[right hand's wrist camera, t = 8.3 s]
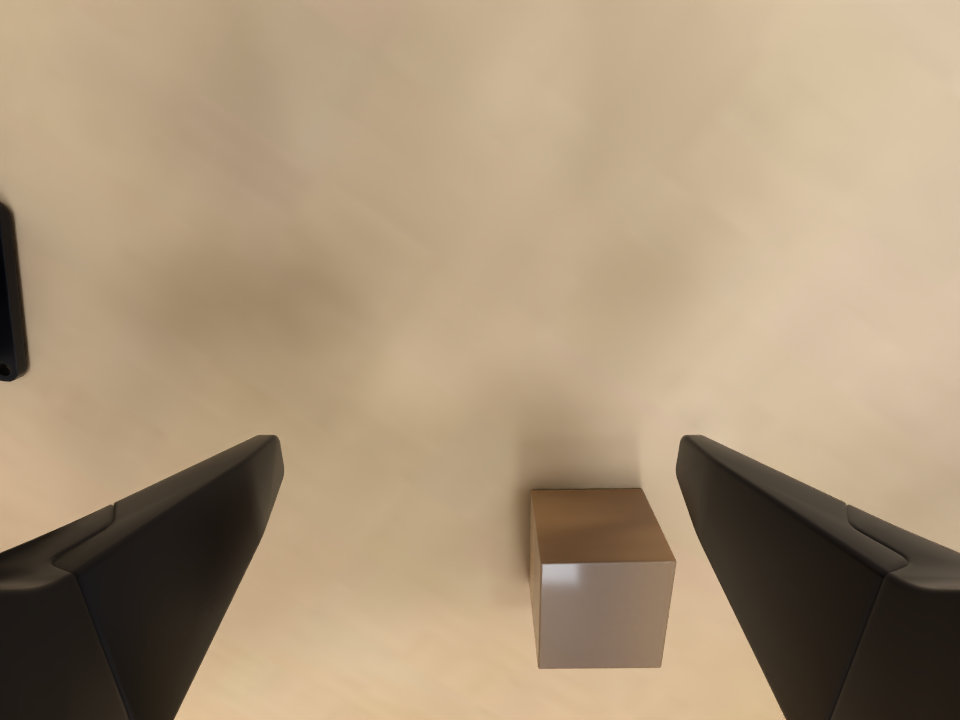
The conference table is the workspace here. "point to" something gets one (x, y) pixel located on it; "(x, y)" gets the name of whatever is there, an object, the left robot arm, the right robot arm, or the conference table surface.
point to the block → (598, 579)
